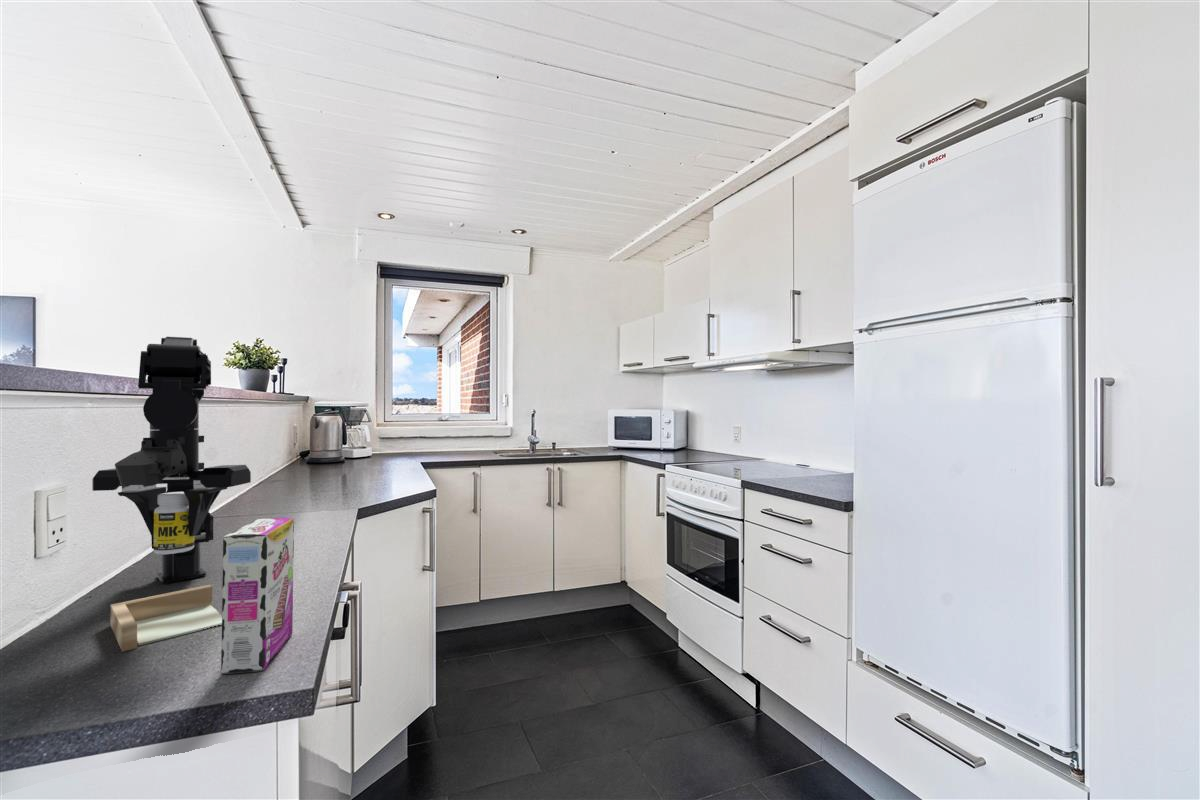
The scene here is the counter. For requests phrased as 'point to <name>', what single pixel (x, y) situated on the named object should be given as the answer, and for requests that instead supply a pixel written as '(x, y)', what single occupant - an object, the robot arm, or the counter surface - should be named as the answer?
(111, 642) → the counter surface
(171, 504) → the supplement bottle
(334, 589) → the counter surface
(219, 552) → the counter surface
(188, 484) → the robot arm
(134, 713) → the counter surface
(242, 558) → the candy bar box
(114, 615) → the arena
